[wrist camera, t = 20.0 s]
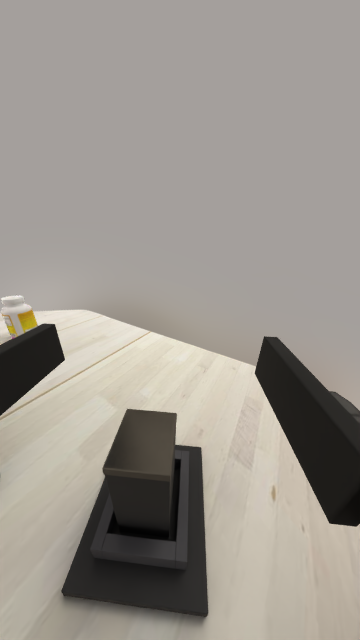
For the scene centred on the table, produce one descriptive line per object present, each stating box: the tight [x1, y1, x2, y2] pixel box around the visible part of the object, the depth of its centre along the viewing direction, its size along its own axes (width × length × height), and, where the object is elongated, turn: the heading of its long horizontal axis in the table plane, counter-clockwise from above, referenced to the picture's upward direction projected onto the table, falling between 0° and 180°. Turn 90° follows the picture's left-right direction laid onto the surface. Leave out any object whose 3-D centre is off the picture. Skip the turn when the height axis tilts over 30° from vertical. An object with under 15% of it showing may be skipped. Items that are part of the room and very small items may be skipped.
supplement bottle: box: [1, 296, 38, 339], centre depth 50 cm, size 7×7×13 cm
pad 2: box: [61, 445, 208, 617], centre depth 19 cm, size 12×12×3 cm
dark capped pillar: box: [103, 409, 177, 538], centre depth 17 cm, size 5×5×11 cm
